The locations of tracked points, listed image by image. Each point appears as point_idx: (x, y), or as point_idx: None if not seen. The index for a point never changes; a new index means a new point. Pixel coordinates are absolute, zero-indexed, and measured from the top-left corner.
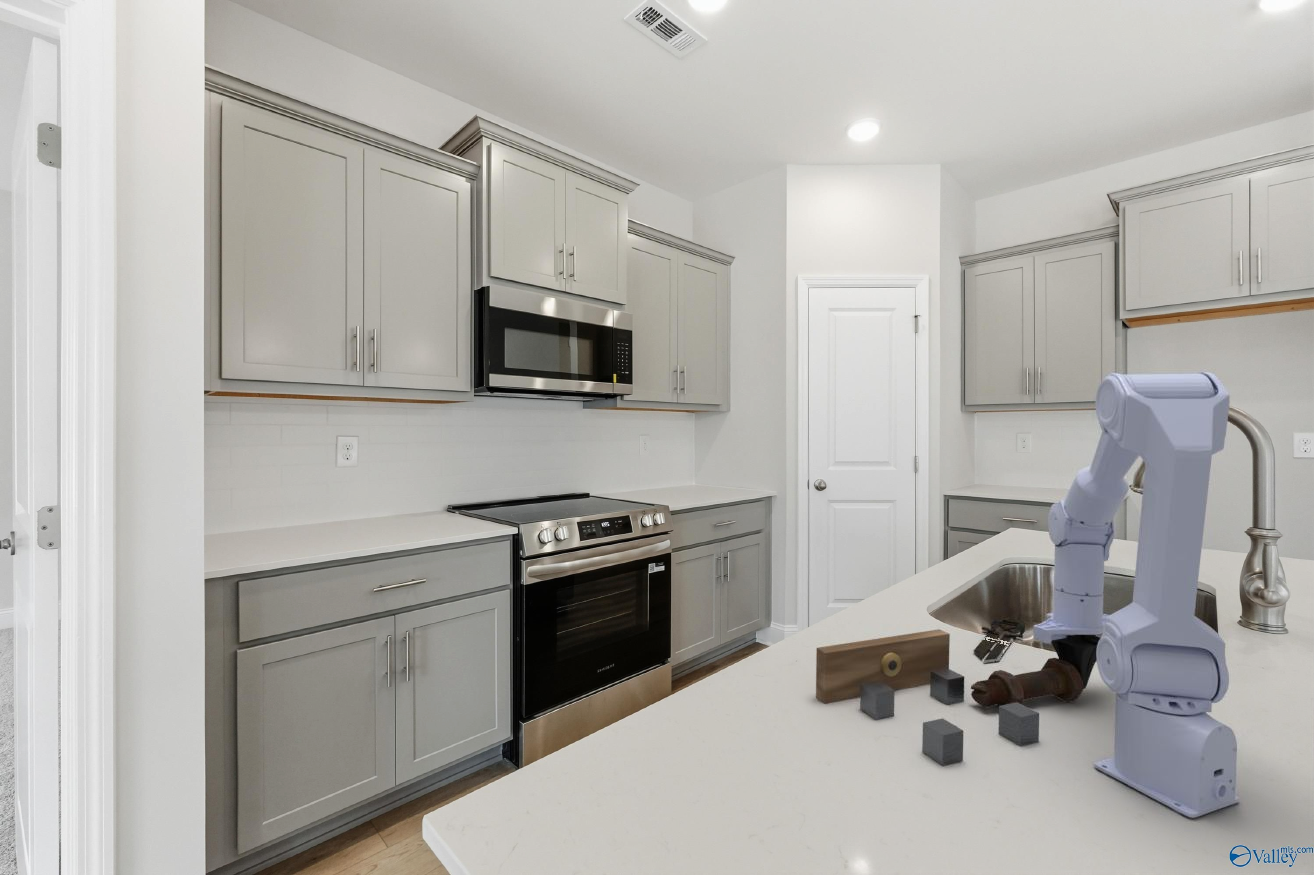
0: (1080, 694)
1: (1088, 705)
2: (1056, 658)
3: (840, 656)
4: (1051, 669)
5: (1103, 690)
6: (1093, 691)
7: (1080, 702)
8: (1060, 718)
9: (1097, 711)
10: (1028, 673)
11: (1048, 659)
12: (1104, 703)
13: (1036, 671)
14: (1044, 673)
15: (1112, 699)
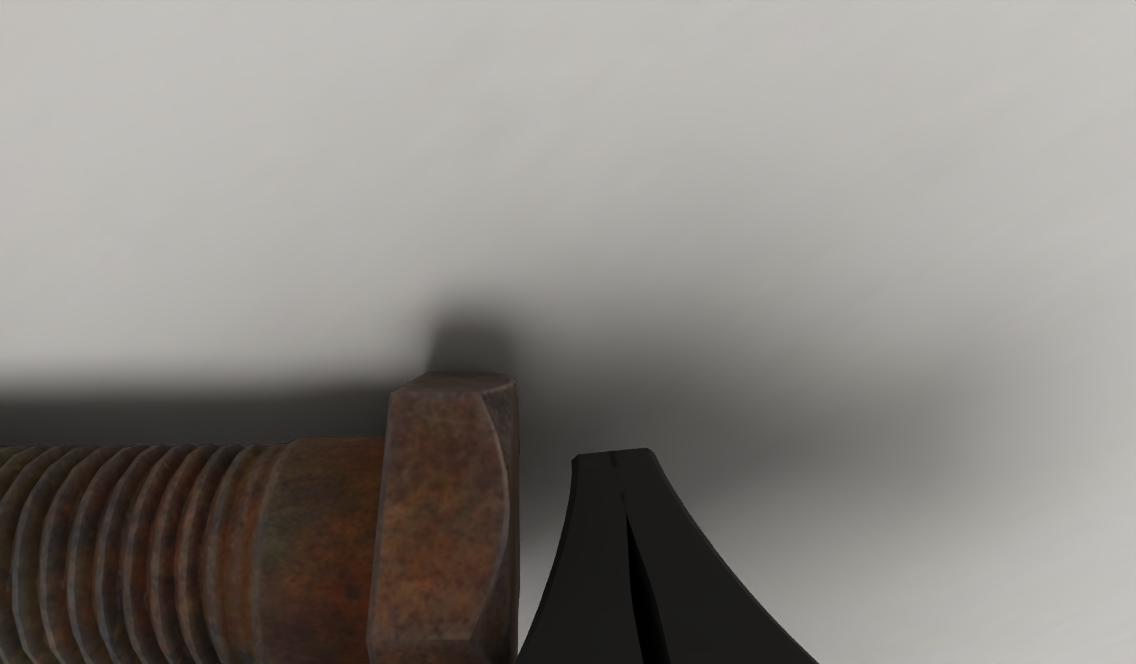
0: (519, 584)
1: (557, 547)
2: (468, 657)
3: None
4: (306, 658)
5: (922, 413)
6: (829, 410)
7: (545, 511)
8: None
9: (535, 605)
10: (17, 624)
11: (366, 633)
12: None
13: (131, 625)
14: (191, 661)
15: (814, 518)
